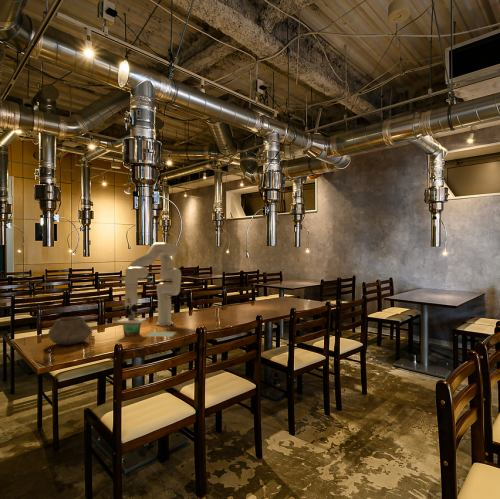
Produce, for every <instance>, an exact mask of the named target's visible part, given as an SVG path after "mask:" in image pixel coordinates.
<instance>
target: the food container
mask: <svg viewBox="0 0 500 499" xmlns="http://www.w3.org/2000/svg"><path fill="white" fill-rule="evenodd" d="M142 323H143V322H141V323H121V325H122V328H123V336H124V337H137V336H140V334H141V324H142Z"/></svg>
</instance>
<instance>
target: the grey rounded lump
mask: <svg viewBox="0 0 500 499" xmlns="http://www.w3.org/2000/svg"><path fill="white" fill-rule="evenodd" d="M85 320H86V319H85V318H84V317H82V316H68V317H67V316H65V317H61V318H57V319H56V321H55V322H54V324H53V325H52V326H51V327H50V328H49V330H48V332H47V333H48V334H47V335H48V337H49V340H50V341H51V342H52V343H54V344H58V345H63V346H71V345H73V346H74V345H77V344H80V343H82V342H84V341H85V340H87V339H88V337H89V336H90V335H91V332H92V330H91V327H90V326H89V324H88V323H87V322H86V321H85Z"/></svg>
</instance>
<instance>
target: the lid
mask: <svg viewBox="0 0 500 499" xmlns="http://www.w3.org/2000/svg"><path fill="white" fill-rule="evenodd" d="M127 316H128V317H125V318H124V317H123V318H121V319H118V320H117V321H116V323H117V324H122V323H141V322H142V323H143V322H145V321H146V320H147V318H145V317H140V318H139V317H136V312H132V311H131V315H127ZM142 323H141V324H142Z"/></svg>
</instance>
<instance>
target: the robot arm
mask: <svg viewBox="0 0 500 499" xmlns="http://www.w3.org/2000/svg"><path fill="white" fill-rule="evenodd" d="M178 254H179V247H178V245H176V244H173V243H168V242H154V243H152V244H151V245H150V246H149V248H148V249H147V251H146V252H145V253H144V254H143V255H141V256H139V257H138V258H136V259H134V260H132V262H131V263H130V264H129V265H128V267H126V268H125V275H124V277H125V278H124V279H125V281H124V285H125V288H124V290H125V292H124V306H125V307H124V308H125V315H126V316H128V315H131V312H135V313H137V312H138V300H139V299H138V289H139V284H138V283H139V279H145V278H147V277H148V275H149V270H148V269H147V267H146V266H149V265H153V264H154V263H155V262H156V261H157V259H158V257H159V259H160V262H161V264H160V275H159V277H160V280H162V282H159V283H158V284H157V286H156V295H157V322H155V326H158V325H159V326H160V327H164V326H165V327H167V326H166V325H168V326H171V324H172V325H173V324H174V322H173V321H172V298H171V297H170V296H178V295H179V294H180V292H181V282H182V271H181V269H180V268H178V267H173V265H174V261H173V258H171V257H174V256H177V255H178ZM163 281H165V282H163ZM166 281H167V282H166ZM170 281H171V282H170Z"/></svg>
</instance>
